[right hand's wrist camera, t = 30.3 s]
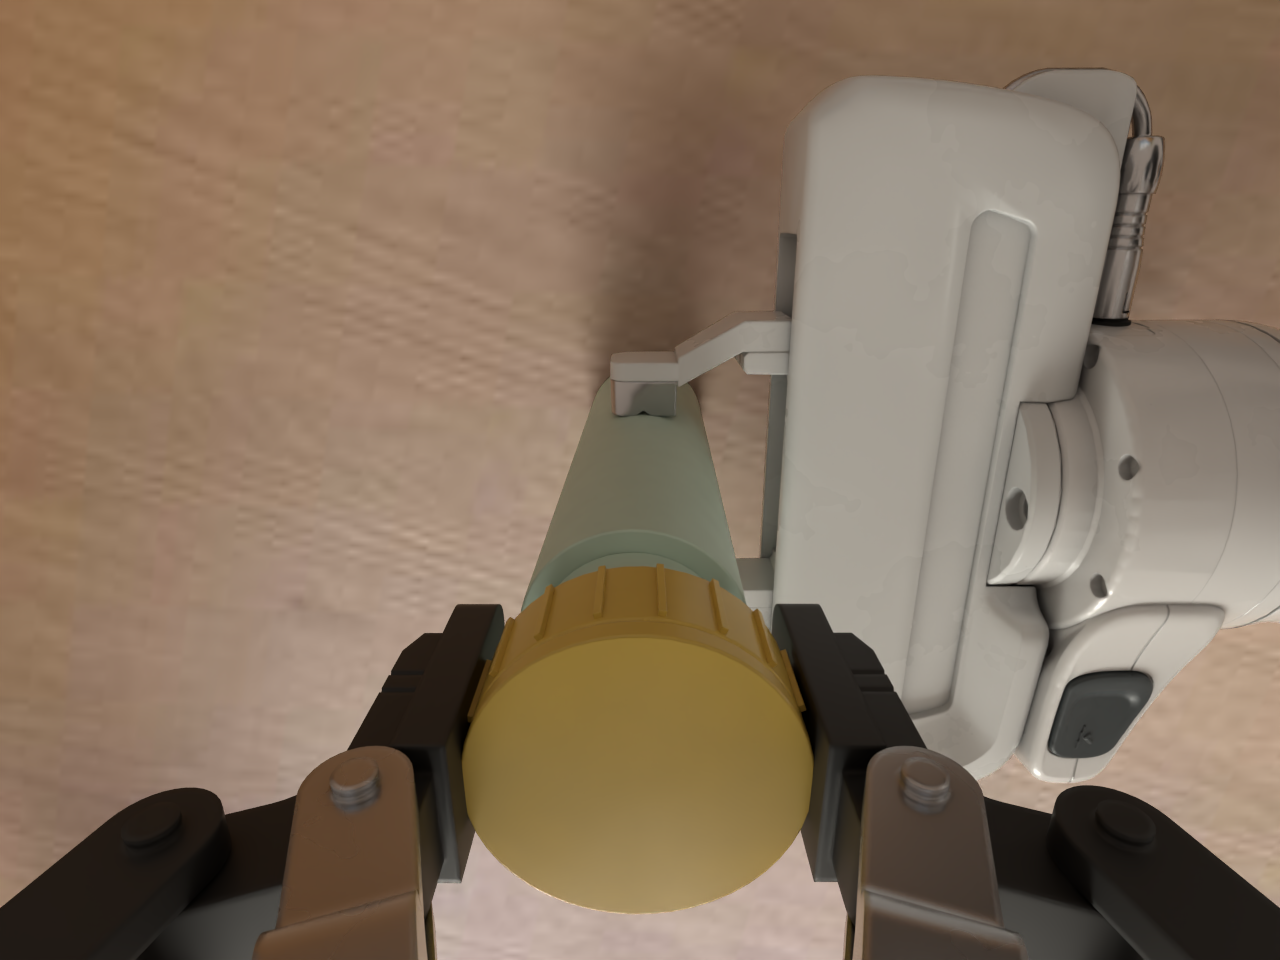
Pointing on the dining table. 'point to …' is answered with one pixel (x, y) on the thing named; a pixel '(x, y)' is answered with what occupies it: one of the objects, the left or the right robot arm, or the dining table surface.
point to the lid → (637, 743)
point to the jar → (639, 500)
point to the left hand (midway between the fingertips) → (612, 477)
